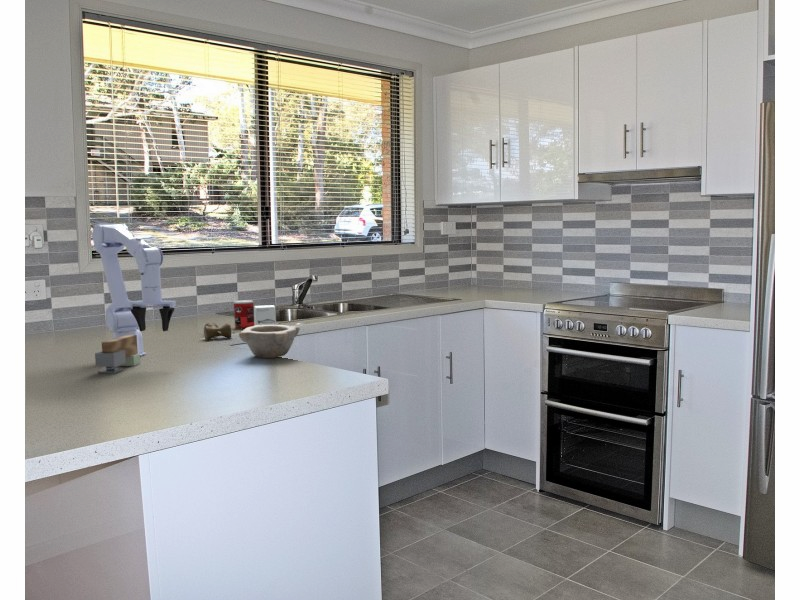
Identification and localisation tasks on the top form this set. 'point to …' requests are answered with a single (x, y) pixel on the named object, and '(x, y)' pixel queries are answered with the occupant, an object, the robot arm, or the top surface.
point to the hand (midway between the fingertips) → (154, 330)
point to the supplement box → (265, 315)
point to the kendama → (216, 331)
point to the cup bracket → (110, 361)
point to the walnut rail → (121, 345)
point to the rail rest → (132, 360)
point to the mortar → (269, 339)
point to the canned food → (244, 313)
